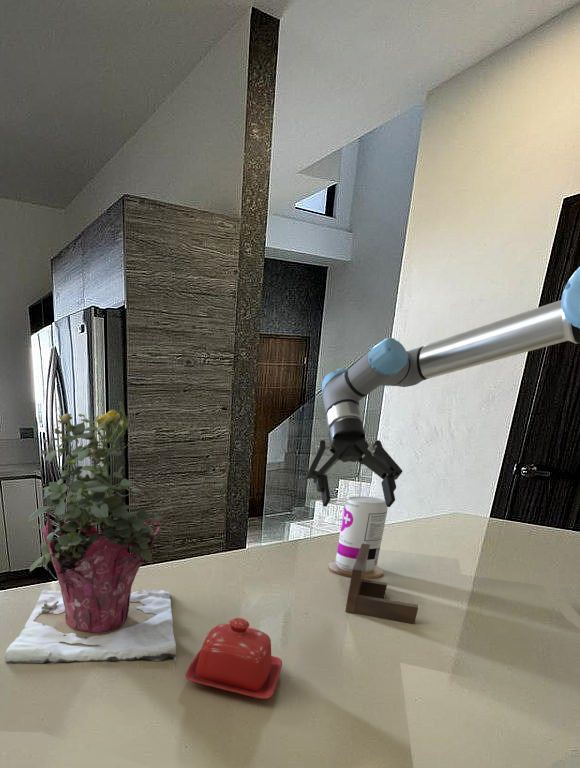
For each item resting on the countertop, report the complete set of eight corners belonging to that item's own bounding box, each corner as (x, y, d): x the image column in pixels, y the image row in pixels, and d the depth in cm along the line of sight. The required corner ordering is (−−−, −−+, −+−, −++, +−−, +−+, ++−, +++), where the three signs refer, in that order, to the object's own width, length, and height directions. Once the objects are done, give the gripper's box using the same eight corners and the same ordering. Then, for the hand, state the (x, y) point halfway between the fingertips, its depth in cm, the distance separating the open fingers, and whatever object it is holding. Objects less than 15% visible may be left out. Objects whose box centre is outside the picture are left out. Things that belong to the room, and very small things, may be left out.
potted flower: (43, 593, 93) (29, 401, 81) (169, 594, 93) (174, 401, 80) (4, 662, 69) (-25, 402, 56) (176, 665, 68) (186, 401, 55)
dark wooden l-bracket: (414, 589, 95) (423, 550, 92) (414, 624, 80) (424, 579, 77) (355, 580, 100) (361, 543, 97) (345, 611, 85) (352, 569, 82)
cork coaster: (383, 566, 108) (384, 564, 107) (381, 582, 99) (381, 579, 98) (331, 559, 113) (332, 557, 112) (324, 573, 104) (324, 570, 103)
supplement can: (336, 571, 103) (348, 502, 97) (333, 560, 110) (343, 495, 105) (378, 575, 101) (392, 504, 95) (372, 563, 108) (384, 497, 103)
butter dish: (284, 665, 68) (291, 610, 65) (270, 709, 58) (277, 647, 55) (205, 648, 72) (208, 597, 69) (180, 687, 63) (182, 629, 60)
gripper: (392, 438, 116) (409, 513, 107) (287, 438, 117) (295, 512, 109) (407, 415, 109) (426, 493, 100) (295, 416, 110) (305, 492, 102)
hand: (358, 503), depth 104 cm, fingers open, 13 cm apart
